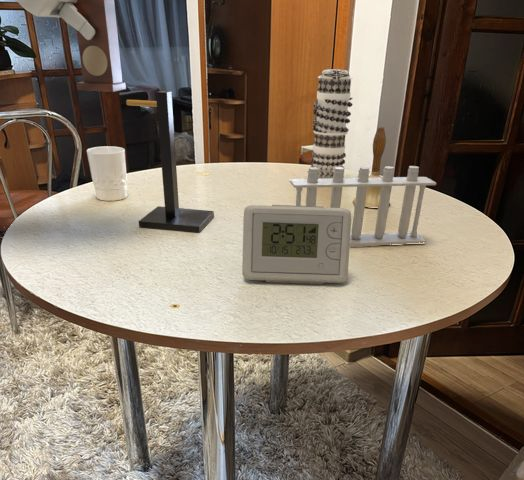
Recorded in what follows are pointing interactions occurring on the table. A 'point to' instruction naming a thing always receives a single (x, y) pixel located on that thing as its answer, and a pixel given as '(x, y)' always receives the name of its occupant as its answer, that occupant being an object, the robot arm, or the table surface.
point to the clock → (100, 48)
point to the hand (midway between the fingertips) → (101, 36)
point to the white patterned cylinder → (331, 121)
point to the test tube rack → (361, 184)
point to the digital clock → (296, 244)
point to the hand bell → (375, 169)
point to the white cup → (108, 172)
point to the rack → (170, 176)
